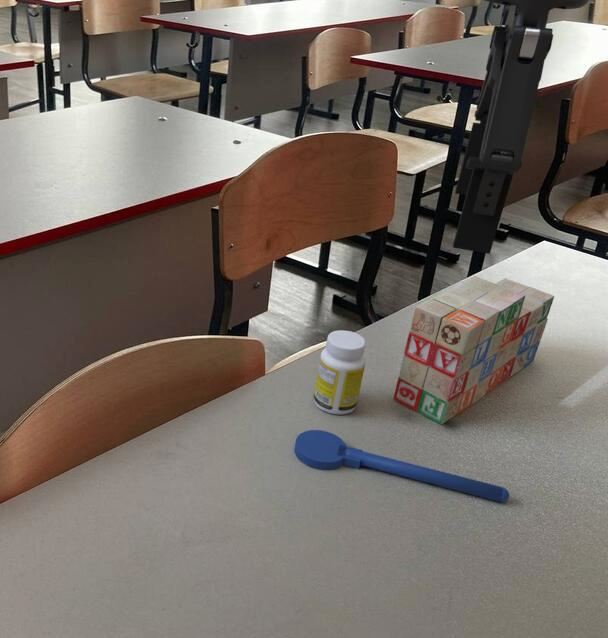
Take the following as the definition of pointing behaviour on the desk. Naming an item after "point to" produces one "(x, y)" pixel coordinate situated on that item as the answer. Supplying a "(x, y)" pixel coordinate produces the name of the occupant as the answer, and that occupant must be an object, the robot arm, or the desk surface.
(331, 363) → the supplement bottle
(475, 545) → the desk surface
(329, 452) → the spoon
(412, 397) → the stack of blocks
